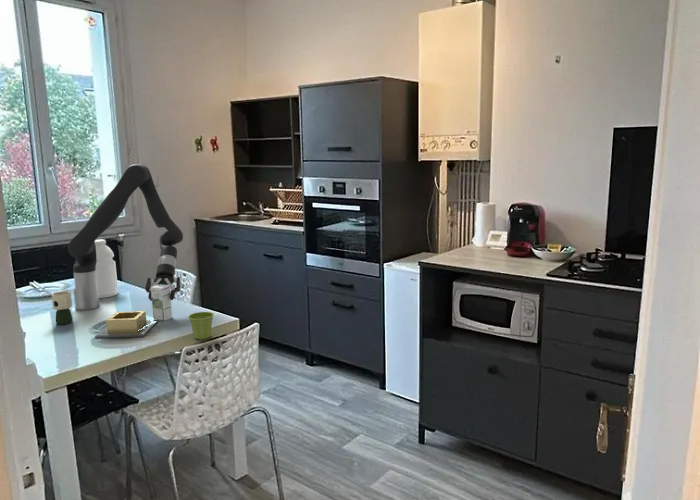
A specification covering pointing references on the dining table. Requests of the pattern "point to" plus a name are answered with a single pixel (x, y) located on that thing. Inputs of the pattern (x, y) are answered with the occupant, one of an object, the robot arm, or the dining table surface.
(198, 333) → the plant pot
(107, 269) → the bottle
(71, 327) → the dining table surface
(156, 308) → the syrup box
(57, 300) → the character mug
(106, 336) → the hitch plate
